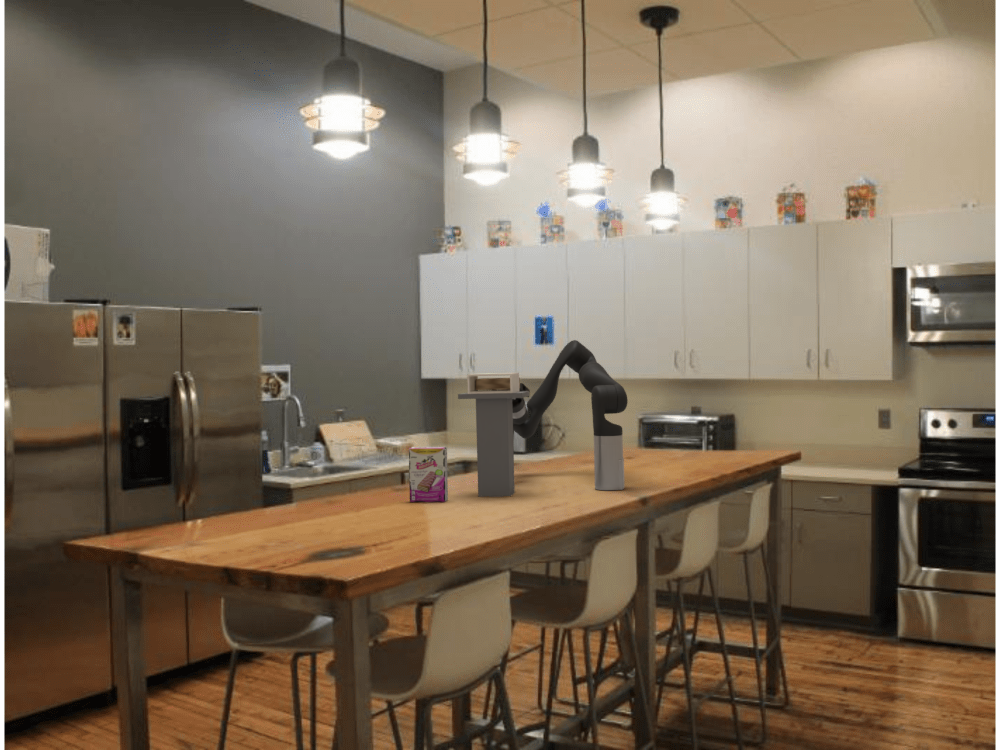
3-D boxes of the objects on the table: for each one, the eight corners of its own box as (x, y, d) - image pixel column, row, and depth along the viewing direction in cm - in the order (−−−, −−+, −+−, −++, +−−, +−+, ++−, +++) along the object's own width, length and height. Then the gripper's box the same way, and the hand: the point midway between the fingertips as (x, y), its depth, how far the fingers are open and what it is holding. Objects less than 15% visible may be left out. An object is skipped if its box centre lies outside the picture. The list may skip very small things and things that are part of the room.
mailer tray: (525, 387, 330) (525, 376, 330) (513, 389, 308) (513, 378, 308) (490, 387, 332) (490, 377, 332) (476, 390, 311) (475, 379, 311)
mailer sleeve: (519, 391, 313) (518, 372, 312) (512, 393, 301) (511, 373, 301) (476, 392, 315) (475, 373, 315) (467, 393, 304) (467, 374, 303)
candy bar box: (409, 502, 296) (407, 448, 296) (412, 500, 301) (410, 446, 301) (446, 502, 295) (444, 447, 295) (448, 499, 300) (447, 446, 300)
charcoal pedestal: (531, 492, 313) (529, 391, 312) (524, 497, 300) (521, 392, 300) (470, 491, 317) (467, 392, 316) (460, 497, 304) (457, 394, 304)
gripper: (494, 394, 344) (485, 370, 329) (535, 393, 341) (527, 369, 326) (493, 413, 340) (483, 390, 326) (533, 413, 338) (525, 389, 323)
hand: (505, 380), depth 326 cm, fingers closed on mailer tray, 4 cm apart
